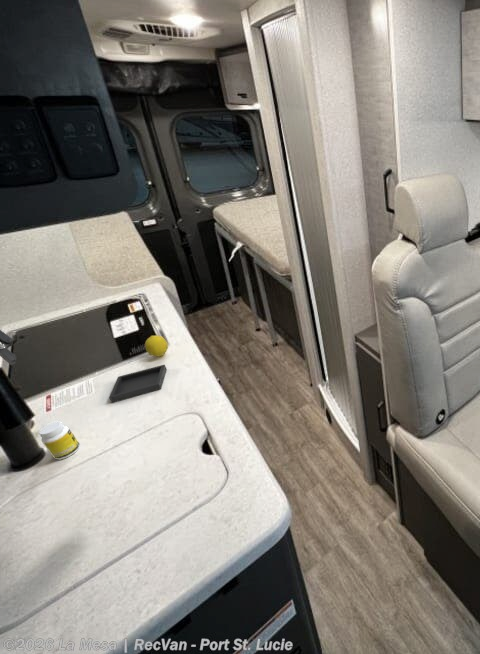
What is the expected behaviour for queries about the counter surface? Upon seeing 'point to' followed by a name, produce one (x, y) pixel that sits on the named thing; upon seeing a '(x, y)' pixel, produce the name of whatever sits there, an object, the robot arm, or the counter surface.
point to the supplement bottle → (59, 440)
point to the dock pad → (138, 383)
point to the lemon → (156, 345)
